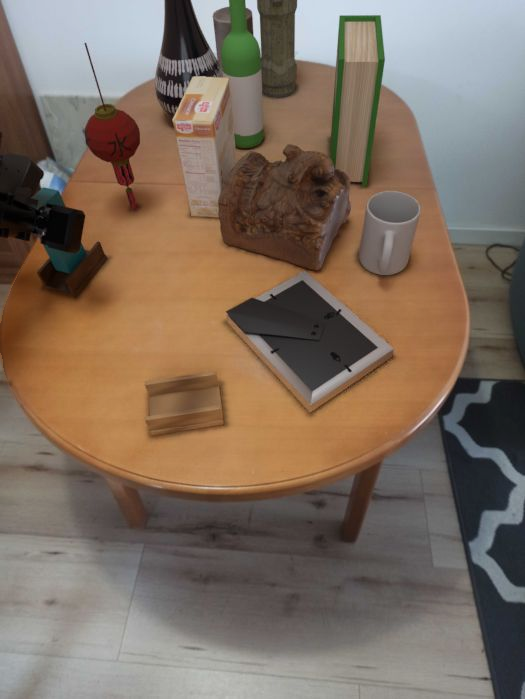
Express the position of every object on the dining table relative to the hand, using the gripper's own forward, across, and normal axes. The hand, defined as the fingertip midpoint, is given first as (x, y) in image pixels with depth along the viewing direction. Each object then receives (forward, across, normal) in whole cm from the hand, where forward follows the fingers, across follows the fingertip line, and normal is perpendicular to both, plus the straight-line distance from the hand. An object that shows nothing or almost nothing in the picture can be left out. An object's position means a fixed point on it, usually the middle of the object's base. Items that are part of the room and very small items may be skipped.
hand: (61, 226), depth 82 cm
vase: (+44, +3, -31) cm, 54 cm away
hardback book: (+39, -36, -26) cm, 59 cm away
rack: (+6, 0, +8) cm, 10 cm away
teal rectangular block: (+4, 0, +6) cm, 7 cm away
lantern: (+20, 0, -6) cm, 21 cm away
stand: (-7, -31, +21) cm, 38 cm away
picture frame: (+5, -43, +8) cm, 44 cm away
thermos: (+57, -12, -44) cm, 73 cm away
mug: (+19, -50, -6) cm, 54 cm away
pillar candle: (+60, +2, -47) cm, 77 cm away
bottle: (+40, -13, -27) cm, 50 cm away
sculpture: (+21, -32, -8) cm, 39 cm away
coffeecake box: (+26, -14, -12) cm, 32 cm away
